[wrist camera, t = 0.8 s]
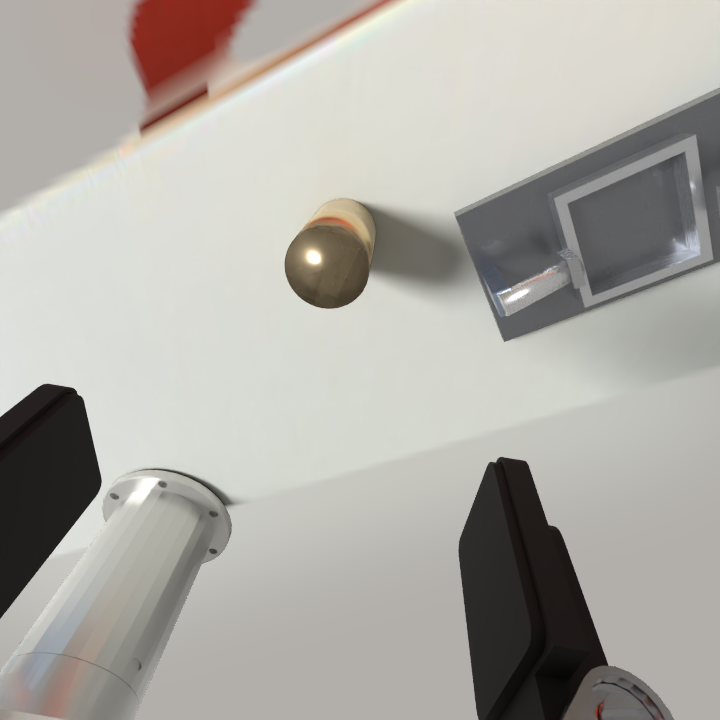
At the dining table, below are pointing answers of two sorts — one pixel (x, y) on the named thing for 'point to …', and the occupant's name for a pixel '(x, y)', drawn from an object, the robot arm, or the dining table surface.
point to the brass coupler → (332, 254)
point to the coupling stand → (601, 221)
